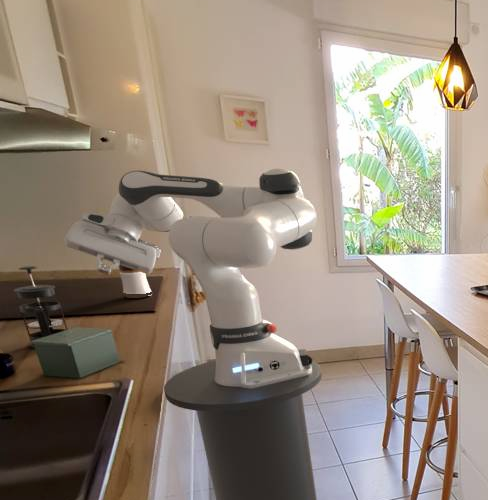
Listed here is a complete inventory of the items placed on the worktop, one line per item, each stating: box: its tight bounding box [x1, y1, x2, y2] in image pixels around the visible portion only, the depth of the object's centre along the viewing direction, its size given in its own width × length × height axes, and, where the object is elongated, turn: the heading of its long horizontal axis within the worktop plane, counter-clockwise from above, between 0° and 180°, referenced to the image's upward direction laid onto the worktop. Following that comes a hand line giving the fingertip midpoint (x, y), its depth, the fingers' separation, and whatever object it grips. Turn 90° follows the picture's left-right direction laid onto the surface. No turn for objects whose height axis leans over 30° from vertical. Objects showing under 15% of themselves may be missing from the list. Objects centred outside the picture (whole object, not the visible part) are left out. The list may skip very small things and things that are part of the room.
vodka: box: [118, 265, 153, 297], centre depth 214 cm, size 9×9×30 cm
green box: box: [34, 331, 121, 379], centre depth 145 cm, size 12×10×9 cm
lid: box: [29, 326, 113, 346], centre depth 143 cm, size 13×10×1 cm
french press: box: [13, 265, 69, 349], centre depth 159 cm, size 12×9×23 cm
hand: (103, 271), depth 150 cm, fingers closed
